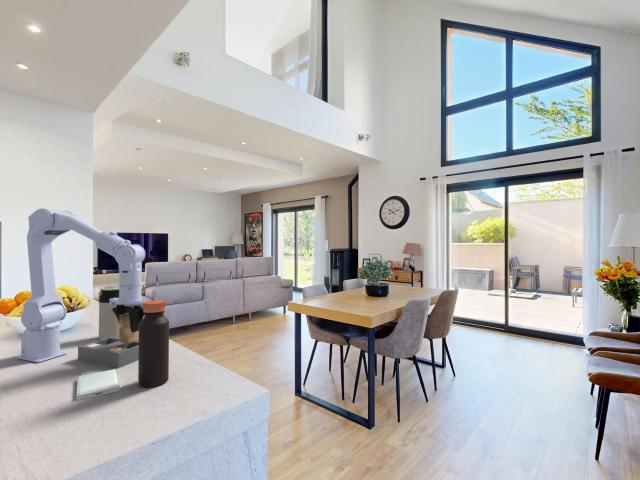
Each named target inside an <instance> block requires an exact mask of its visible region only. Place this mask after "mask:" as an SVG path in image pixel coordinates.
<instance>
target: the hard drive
mask: <svg viewBox="0 0 640 480" xmlns="http://www.w3.org/2000/svg"><path fill="white" fill-rule="evenodd" d="M76 382H77V384H76V399H75V400H76V401H80V400H85V399H89V398H94V397H98V396H102V395H107V394H113V393H115V392H120V390H121V388H120V383H119V378H118V374H117V370H116V369H108V370H104V371H99V372H94V373H89V374H84V375H79V376H77V381H76Z"/></svg>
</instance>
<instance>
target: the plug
mask: <svg viewBox="0 0 640 480" xmlns="http://www.w3.org/2000/svg"><path fill="white" fill-rule="evenodd" d="M138 340H139V331H136V332H132V331H131V322H130V317H129V314H128V313H126V314H121V315H119V342H121V343H128V344H129V343H132V342H135V341H138Z"/></svg>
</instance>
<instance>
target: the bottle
mask: <svg viewBox="0 0 640 480" xmlns="http://www.w3.org/2000/svg"><path fill="white" fill-rule="evenodd" d="M143 312H144V313H143V314H145V315H144V317H143V319H142V320H141V321H140V323H139V352H138V360H137V361H138V362H137V363H138V365H137V366H138V367H137V368H138V369H137V370H138V373H137V375H138V376H137V377H138V379H137V384H138V386H139V387H142V388H149V389H150V388H154V387H159V386H162V385H164V384H165V383H167V382H168V380H169V371H170V369H169V368H170V363H169V361H170V360H169V359H170V356H169V355H170V321H169V319H168V318H167V316H165V315H164V314H165V312H166V300H163V299H156V300H155V299H154V300H148V301H147V302H144V303H143Z"/></svg>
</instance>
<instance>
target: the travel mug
mask: <svg viewBox="0 0 640 480" xmlns="http://www.w3.org/2000/svg"><path fill="white" fill-rule="evenodd" d="M99 290H100V292H101V293H100V295H99V297H98V340H102V339H105V338H108V337H112V336H115V335H118V334H119V322H118V319H117V317H116V315H115V313H114V312H113V311H112V308H115V307H116V306H117V305H109V303H110V299H111V298H119V285H111V286H103V287H99Z"/></svg>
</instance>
